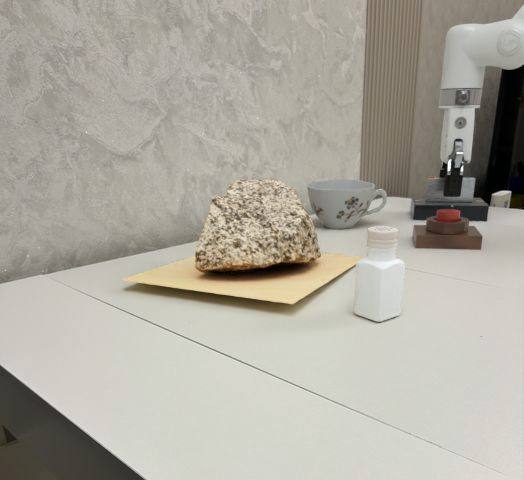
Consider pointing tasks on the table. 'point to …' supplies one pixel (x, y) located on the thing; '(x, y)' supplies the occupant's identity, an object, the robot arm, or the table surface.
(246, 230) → the rock
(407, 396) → the table surface
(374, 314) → the salt shaker
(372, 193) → the teacup
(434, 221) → the button block
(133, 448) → the table surface
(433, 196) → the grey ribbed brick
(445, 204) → the faucet plate
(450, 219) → the button
